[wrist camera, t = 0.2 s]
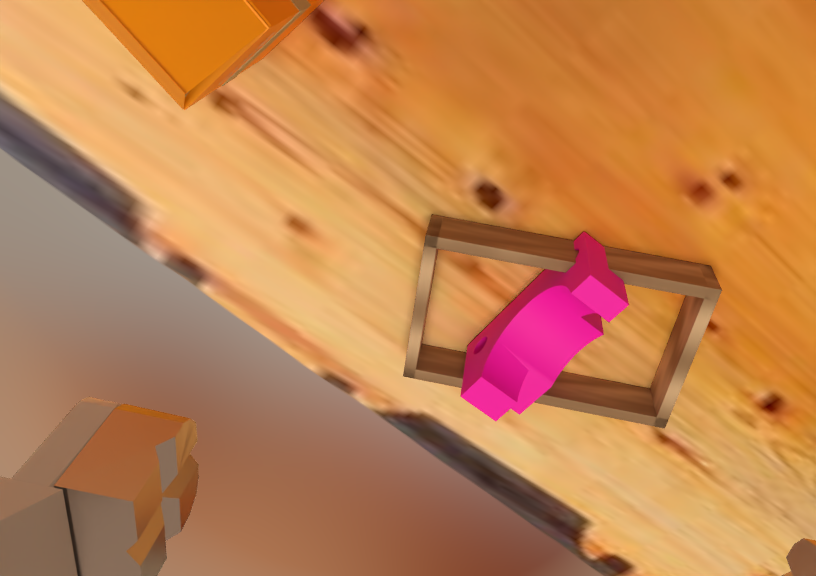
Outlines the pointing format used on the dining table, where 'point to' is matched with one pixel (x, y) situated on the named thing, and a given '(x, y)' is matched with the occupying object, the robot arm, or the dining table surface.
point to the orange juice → (199, 37)
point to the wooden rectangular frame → (561, 257)
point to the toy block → (541, 332)
